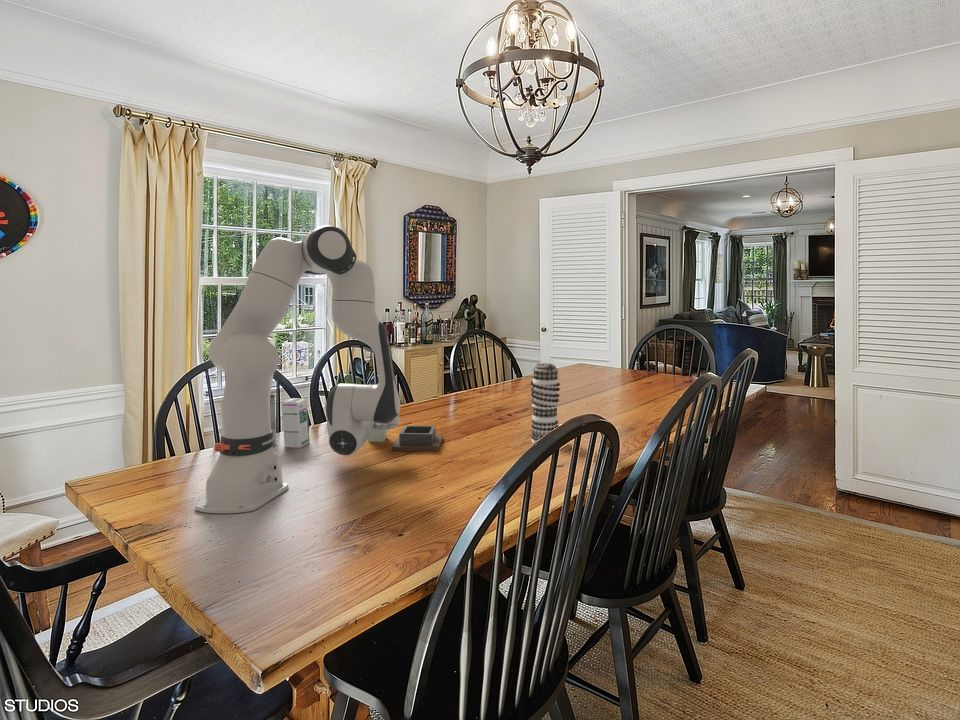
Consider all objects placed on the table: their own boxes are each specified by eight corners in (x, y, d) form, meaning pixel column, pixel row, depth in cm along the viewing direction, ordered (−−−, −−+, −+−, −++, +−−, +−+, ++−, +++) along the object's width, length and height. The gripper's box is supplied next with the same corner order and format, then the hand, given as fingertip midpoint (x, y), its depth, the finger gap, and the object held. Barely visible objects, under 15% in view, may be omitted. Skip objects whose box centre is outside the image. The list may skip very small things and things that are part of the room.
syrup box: (301, 448, 177) (298, 402, 175) (283, 447, 178) (281, 401, 176) (310, 443, 182) (308, 398, 180) (293, 442, 183) (290, 397, 181)
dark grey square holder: (437, 451, 173) (437, 435, 173) (391, 450, 174) (391, 435, 173) (442, 438, 187) (442, 424, 186) (400, 438, 188) (399, 424, 187)
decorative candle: (551, 447, 177) (553, 367, 173) (525, 443, 181) (525, 365, 178) (563, 440, 184) (565, 363, 181) (537, 436, 189) (538, 361, 186)
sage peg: (383, 441, 183) (382, 395, 181) (368, 441, 184) (366, 395, 181) (386, 437, 188) (385, 392, 186) (371, 437, 188) (370, 392, 186)
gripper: (394, 414, 158) (403, 402, 172) (321, 415, 159) (335, 404, 173) (395, 436, 159) (404, 423, 173) (323, 437, 160) (337, 424, 174)
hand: (369, 413), depth 173 cm, fingers open, 8 cm apart
